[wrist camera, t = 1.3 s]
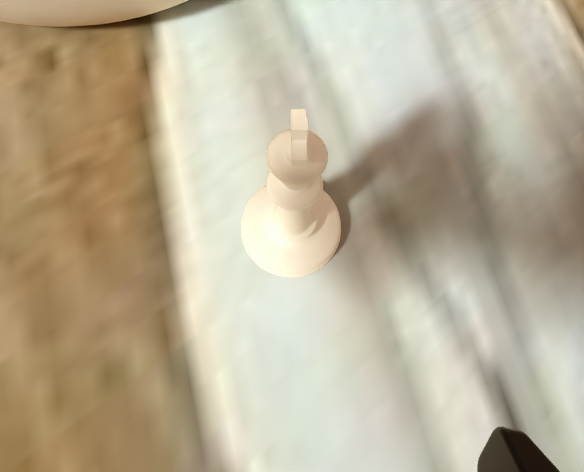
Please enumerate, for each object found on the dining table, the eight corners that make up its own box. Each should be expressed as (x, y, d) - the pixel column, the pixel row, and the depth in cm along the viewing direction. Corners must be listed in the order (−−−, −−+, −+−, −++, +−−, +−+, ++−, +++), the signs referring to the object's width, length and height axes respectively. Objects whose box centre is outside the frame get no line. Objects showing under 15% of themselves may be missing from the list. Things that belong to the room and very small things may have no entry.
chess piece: (338, 181, 24) (378, 50, 14) (343, 276, 22) (392, 202, 13) (241, 183, 23) (215, 51, 14) (240, 278, 22) (211, 205, 12)
